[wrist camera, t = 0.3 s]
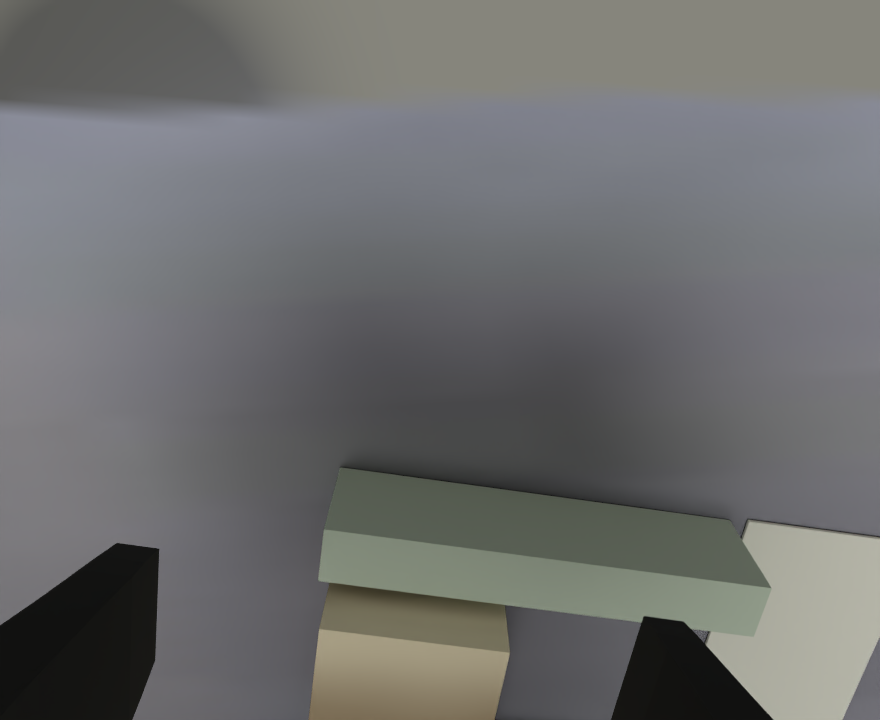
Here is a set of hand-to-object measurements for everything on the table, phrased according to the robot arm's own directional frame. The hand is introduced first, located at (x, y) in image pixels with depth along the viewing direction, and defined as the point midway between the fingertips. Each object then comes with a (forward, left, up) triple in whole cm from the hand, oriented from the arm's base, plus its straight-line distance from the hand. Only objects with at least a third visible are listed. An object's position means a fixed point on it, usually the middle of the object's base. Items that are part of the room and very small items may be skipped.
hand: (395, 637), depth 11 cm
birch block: (-8, -1, -9) cm, 12 cm away
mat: (-8, -12, -9) cm, 17 cm away
